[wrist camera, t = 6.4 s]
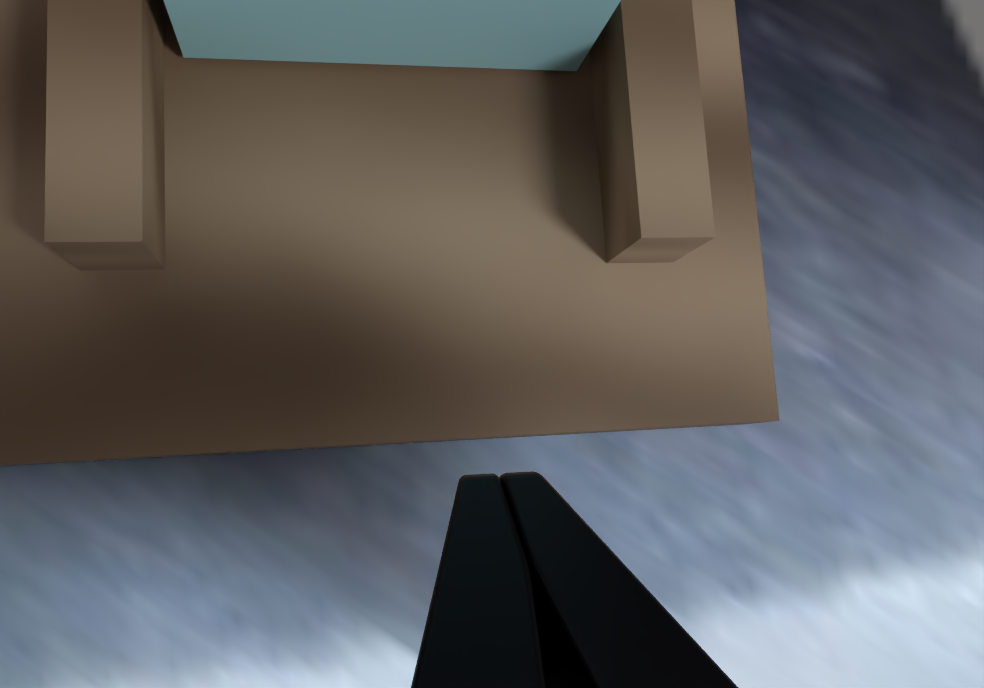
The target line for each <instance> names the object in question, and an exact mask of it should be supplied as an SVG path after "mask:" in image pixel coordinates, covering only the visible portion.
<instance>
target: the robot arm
mask: <svg viewBox="0 0 984 688" xmlns="http://www.w3.org/2000/svg"><path fill="white" fill-rule="evenodd" d="M411 688H738V687H737V686H736V685H735V684H734V683H733V682H732V680H731V679H730V678H729V677H728V676H727V675H726V674H725V673H724V672H723V671H722V670H721V669H720V667H719V666H718V665H717V664H716V663H715V662H714V661H713V660H712V659H711V658H710V657H709V656H708V654H707V653H706V652H705V651H704V650H703V649H702V648H701V647H700V646H699V645H698V644H697V643H696V642H695V640H694V639H693V638H692V637H691V636H690V635H689V634H688V633H687V632H686V631H685V630H684V629H683V627H682V626H681V625H680V624H679V623H678V622H677V621H676V620H675V619H674V618H673V617H672V616H671V614H670V613H669V612H668V611H667V610H666V609H665V608H664V607H663V606H662V605H661V604H660V603H659V601H658V600H657V599H656V598H655V597H654V596H653V595H652V594H651V593H650V592H649V591H648V590H647V589H646V587H645V586H644V585H643V584H642V583H641V582H640V581H639V580H638V579H637V578H636V577H635V576H634V574H633V573H632V572H631V571H630V570H629V569H628V568H627V567H626V566H625V565H624V564H623V563H622V561H621V560H620V559H619V558H618V557H617V556H616V555H615V554H614V553H613V552H612V551H611V550H610V548H609V547H608V546H607V545H606V544H605V543H604V542H603V541H602V540H601V539H600V538H599V537H598V535H597V534H596V533H595V532H594V531H593V530H592V529H591V528H590V527H589V526H588V525H587V524H586V523H585V521H584V520H583V519H582V518H581V517H580V516H579V515H578V514H577V513H576V512H575V511H574V510H573V508H572V507H571V506H570V505H569V504H568V503H567V502H566V501H565V500H564V499H563V498H562V497H561V495H560V494H559V493H558V492H557V491H556V490H555V489H554V488H553V487H552V486H551V485H550V484H549V482H548V481H547V480H546V479H545V478H544V477H543V476H542V475H540V474H539V473H537V472H516V473H505V474H503V475H501V476H500V478H499V477H498V476H497V475H495V474H476V475H464V476H462V477H461V478H460V480H459V483H458V487H457V491H456V495H455V500H454V504H453V508H452V513H451V517H450V521H449V526H448V530H447V534H446V539H445V543H444V547H443V552H442V556H441V560H440V565H439V569H438V573H437V578H436V582H435V586H434V591H433V595H432V599H431V603H430V608H429V612H428V616H427V621H426V625H425V629H424V634H423V638H422V642H421V647H420V651H419V655H418V660H417V664H416V668H415V673H414V677H413V681H412V686H411Z"/></svg>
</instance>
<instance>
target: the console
mask: <svg viewBox="0 0 984 688" xmlns="http://www.w3.org/2000/svg"><path fill="white" fill-rule="evenodd" d="M771 421H779V412H778V403H777V394H776V384H775V375H774V366H773V356H772V347H771V338H770V328H769V319H768V310H767V300H766V291H765V282H764V272H763V263H762V254H761V244H760V235H759V226H758V217H757V207H756V198H755V189H754V179H753V170H752V161H751V151H750V142H749V133H748V123H747V114H746V105H745V95H744V86H743V77H742V67H741V58H740V49H739V40H738V30H737V21H736V12H735V2H734V0H621V1H620V3H619V4H618V6H617V8H616V9H615V11H614V12H613V14H612V15H611V17H610V19H609V20H608V22H607V23H606V25H605V27H604V28H603V30H602V31H601V33H600V35H599V36H598V38H597V39H596V41H595V43H594V44H593V46H592V47H591V49H590V50H589V52H588V54H587V55H586V57H585V58H584V60H583V62H582V63H581V65H580V66H579V68H578V70H577V71H554V70H525V69H496V68H468V67H439V66H411V65H382V64H353V63H325V62H296V61H268V60H239V59H210V58H184V57H183V54H182V51H181V49H180V46H179V43H178V40H177V37H176V34H175V32H174V29H173V26H172V23H171V20H170V17H169V15H168V12H167V9H166V6H165V3H164V0H0V466H14V465H32V464H49V463H67V462H85V461H102V460H120V459H138V458H155V457H173V456H191V455H208V454H226V453H244V452H261V451H279V450H297V449H314V448H332V447H350V446H367V445H385V444H403V443H420V442H438V441H456V440H473V439H491V438H509V437H526V436H544V435H562V434H579V433H597V432H615V431H632V430H650V429H668V428H685V427H703V426H721V425H738V424H751V423H761V422H771Z"/></svg>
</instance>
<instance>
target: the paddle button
mask: <svg viewBox="0 0 984 688" xmlns="http://www.w3.org/2000/svg"><path fill="white" fill-rule="evenodd" d="M620 1H621V0H164V3H165V6H166V9H167V12H168V15H169V17H170V20H171V23H172V26H173V29H174V32H175V34H176V37H177V40H178V43H179V46H180V49H181V51H182V54H183V57H184V58H210V59H239V60H268V61H296V62H325V63H353V64H382V65H411V66H439V67H468V68H496V69H525V70H554V71H577V70H578V68H579V66H580V65H581V63H582V62H583V60H584V58H585V57H586V55H587V54H588V52H589V50H590V49H591V47H592V46H593V44H594V43H595V41H596V39H597V38H598V36H599V35H600V33H601V31H602V30H603V28H604V27H605V25H606V23H607V22H608V20H609V19H610V17H611V15H612V14H613V12H614V11H615V9H616V8H617V6H618V4H619V3H620Z"/></svg>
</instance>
